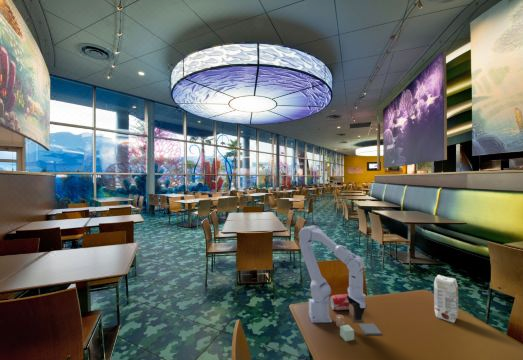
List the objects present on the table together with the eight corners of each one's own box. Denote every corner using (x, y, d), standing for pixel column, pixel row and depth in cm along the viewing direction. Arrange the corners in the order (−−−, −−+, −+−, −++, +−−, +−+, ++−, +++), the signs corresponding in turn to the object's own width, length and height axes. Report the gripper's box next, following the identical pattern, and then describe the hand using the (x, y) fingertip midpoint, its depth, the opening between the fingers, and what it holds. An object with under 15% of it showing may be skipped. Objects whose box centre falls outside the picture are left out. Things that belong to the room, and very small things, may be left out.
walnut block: (353, 323, 101) (353, 308, 101) (349, 317, 106) (349, 303, 106) (363, 322, 101) (363, 308, 102) (359, 317, 106) (359, 303, 106)
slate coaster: (365, 334, 102) (365, 333, 102) (358, 325, 109) (358, 323, 109) (381, 334, 102) (381, 333, 102) (373, 324, 109) (373, 323, 109)
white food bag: (456, 324, 108) (455, 283, 109) (433, 316, 115) (432, 277, 115) (459, 318, 113) (458, 278, 114) (437, 311, 120) (436, 273, 120)
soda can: (351, 296, 129) (328, 297, 128) (355, 291, 123) (331, 293, 123) (356, 310, 124) (331, 312, 123) (360, 306, 119) (334, 308, 118)
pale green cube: (345, 341, 97) (345, 331, 98) (340, 335, 101) (339, 326, 101) (354, 339, 99) (354, 329, 99) (348, 333, 102) (348, 324, 102)
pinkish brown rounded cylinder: (337, 327, 107) (337, 318, 107) (334, 323, 110) (334, 314, 110) (345, 327, 107) (345, 318, 107) (342, 323, 110) (342, 314, 110)
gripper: (372, 292, 97) (373, 325, 96) (358, 278, 111) (358, 307, 111) (355, 292, 97) (356, 326, 96) (343, 278, 111) (343, 307, 111)
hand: (356, 316), depth 104 cm, fingers closed on walnut block, 4 cm apart
